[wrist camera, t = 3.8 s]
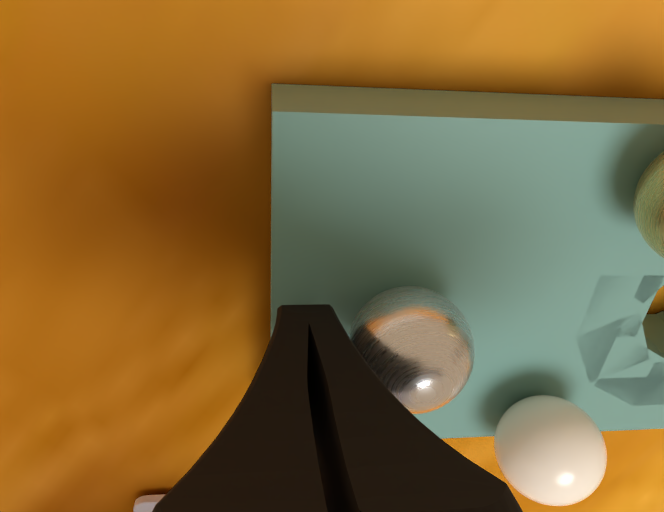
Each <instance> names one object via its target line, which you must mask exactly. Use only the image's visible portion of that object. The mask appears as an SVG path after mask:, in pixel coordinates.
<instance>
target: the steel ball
mask: <svg viewBox="0 0 664 512" xmlns="http://www.w3.org/2000/svg"><path fill="white" fill-rule="evenodd" d="M349 337H350V339H351V340H352V342H353V343H354V345H355V346H356V348H357V349H358V351H359V352H360V354H361V355H362V356H363V358H364V359H365V361H366V362H367V363H368V365H369V366H370V367H371V369H372V370H373V371H374V372H375V374H376V375H377V376H378V377H379V379H380V380H381V381H382V382H383V383H384V385H385V386H386V387H387V388H388V389H389V390H390V391H391V393H392V394H393V395H394V396H395V397H396V398H397V399H398V400H399V401H400V402H401V403H402V404H403V405H404V406H405V407H406V408H407V409H408V410H409V411H410V412H411V413H412V414H422V413H427V412H431V411H434V410H437V409H439V408H441V407H443V406H444V405H446V404H448V403H449V402H450V401H452V400H453V399H454V398H455V397H456V396H457V395H458V394H459V393H460V392H461V390H462V389H463V388H464V386H465V385H466V383H467V381H468V379H469V377H470V375H471V372H472V369H473V364H474V358H475V346H474V339H473V334H472V332H471V329H470V326H469V324H468V322H467V320H466V318H465V317H464V315H463V314H462V312H461V311H460V310H459V309H458V308H457V306H456V305H455V304H454V303H452V302H451V301H450V300H449V299H447V298H446V297H444V296H443V295H441V294H440V293H437V292H435V291H433V290H430V289H427V288H423V287H417V286H401V287H395V288H392V289H389V290H386V291H384V292H382V293H380V294H378V295H376V296H375V297H373V298H372V299H371V300H370V301H368V302H367V303H366V304H365V305H364V306H363V307H362V308H361V310H360V311H359V312H358V314H357V316H356V317H355V319H354V321H353V323H352V326H351V329H350V332H349Z"/></svg>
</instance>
